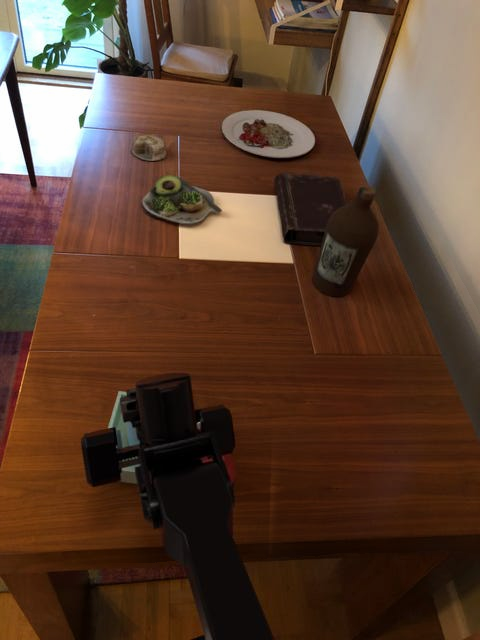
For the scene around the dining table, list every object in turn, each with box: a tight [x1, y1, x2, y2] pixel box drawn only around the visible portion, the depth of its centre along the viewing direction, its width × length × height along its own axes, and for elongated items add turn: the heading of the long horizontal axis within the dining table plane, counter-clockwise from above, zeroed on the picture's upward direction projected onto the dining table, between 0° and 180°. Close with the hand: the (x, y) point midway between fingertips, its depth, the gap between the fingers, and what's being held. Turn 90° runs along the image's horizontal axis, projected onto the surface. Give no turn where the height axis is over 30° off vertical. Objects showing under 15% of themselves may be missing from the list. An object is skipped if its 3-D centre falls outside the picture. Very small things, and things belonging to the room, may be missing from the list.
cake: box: [131, 134, 167, 162], centre depth 135 cm, size 10×10×5 cm
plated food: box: [221, 109, 316, 159], centre depth 151 cm, size 30×30×3 cm
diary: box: [273, 172, 348, 247], centre depth 124 cm, size 19×25×5 cm
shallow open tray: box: [107, 390, 140, 485], centre depth 75 cm, size 13×12×5 cm
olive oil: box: [311, 184, 380, 298], centre depth 100 cm, size 11×11×25 cm
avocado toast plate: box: [140, 174, 223, 226], centre depth 120 cm, size 19×18×5 cm
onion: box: [201, 454, 238, 484], centre depth 72 cm, size 6×6×8 cm
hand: (151, 426), depth 68 cm, fingers open, 9 cm apart
